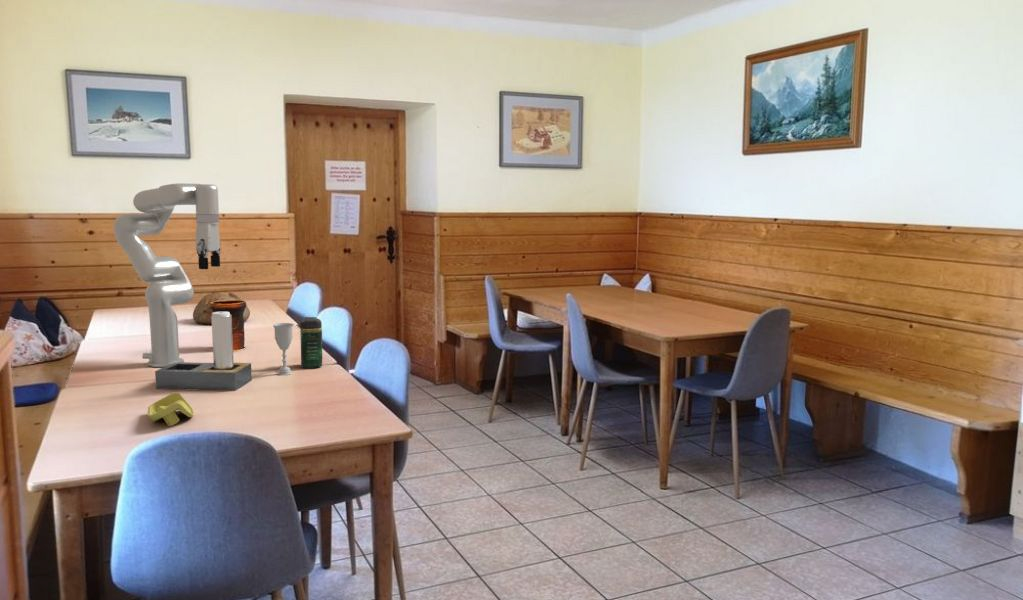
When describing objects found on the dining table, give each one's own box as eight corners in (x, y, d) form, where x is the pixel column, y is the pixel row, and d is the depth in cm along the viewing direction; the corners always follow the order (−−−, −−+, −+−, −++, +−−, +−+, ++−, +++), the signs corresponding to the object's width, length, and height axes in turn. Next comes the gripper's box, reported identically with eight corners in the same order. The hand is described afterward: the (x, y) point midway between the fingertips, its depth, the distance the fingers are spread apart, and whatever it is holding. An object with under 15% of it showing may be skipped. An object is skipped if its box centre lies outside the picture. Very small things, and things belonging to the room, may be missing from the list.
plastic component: (148, 406, 232) (180, 388, 236) (161, 427, 234) (193, 409, 237) (147, 418, 214) (181, 399, 217) (161, 441, 216) (195, 422, 219)
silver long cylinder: (228, 387, 263) (224, 314, 260) (210, 386, 265) (206, 313, 261) (238, 383, 270) (235, 311, 266) (221, 382, 271) (217, 310, 268)
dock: (156, 388, 261) (155, 370, 260) (176, 379, 275) (175, 361, 274) (235, 390, 260) (234, 372, 259) (251, 380, 274) (251, 363, 273)
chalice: (299, 372, 286) (297, 323, 284) (287, 376, 280) (286, 326, 277) (281, 370, 289) (280, 322, 286) (270, 374, 282) (268, 325, 280)
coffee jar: (323, 368, 293) (322, 319, 291) (301, 369, 291) (300, 320, 288) (322, 362, 302) (320, 315, 300) (300, 364, 300) (299, 316, 298)
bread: (184, 324, 387) (182, 294, 385) (211, 317, 409) (210, 289, 407) (232, 327, 381) (231, 296, 379) (257, 319, 404) (256, 290, 402)
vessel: (203, 350, 324) (201, 302, 322) (227, 345, 337) (226, 298, 335) (230, 353, 319) (229, 304, 317) (254, 347, 332) (253, 300, 330)
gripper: (208, 218, 286) (209, 265, 289) (186, 220, 269) (188, 270, 272) (228, 218, 286) (229, 265, 288) (207, 220, 269) (209, 270, 271)
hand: (209, 267), depth 280 cm, fingers open, 9 cm apart
